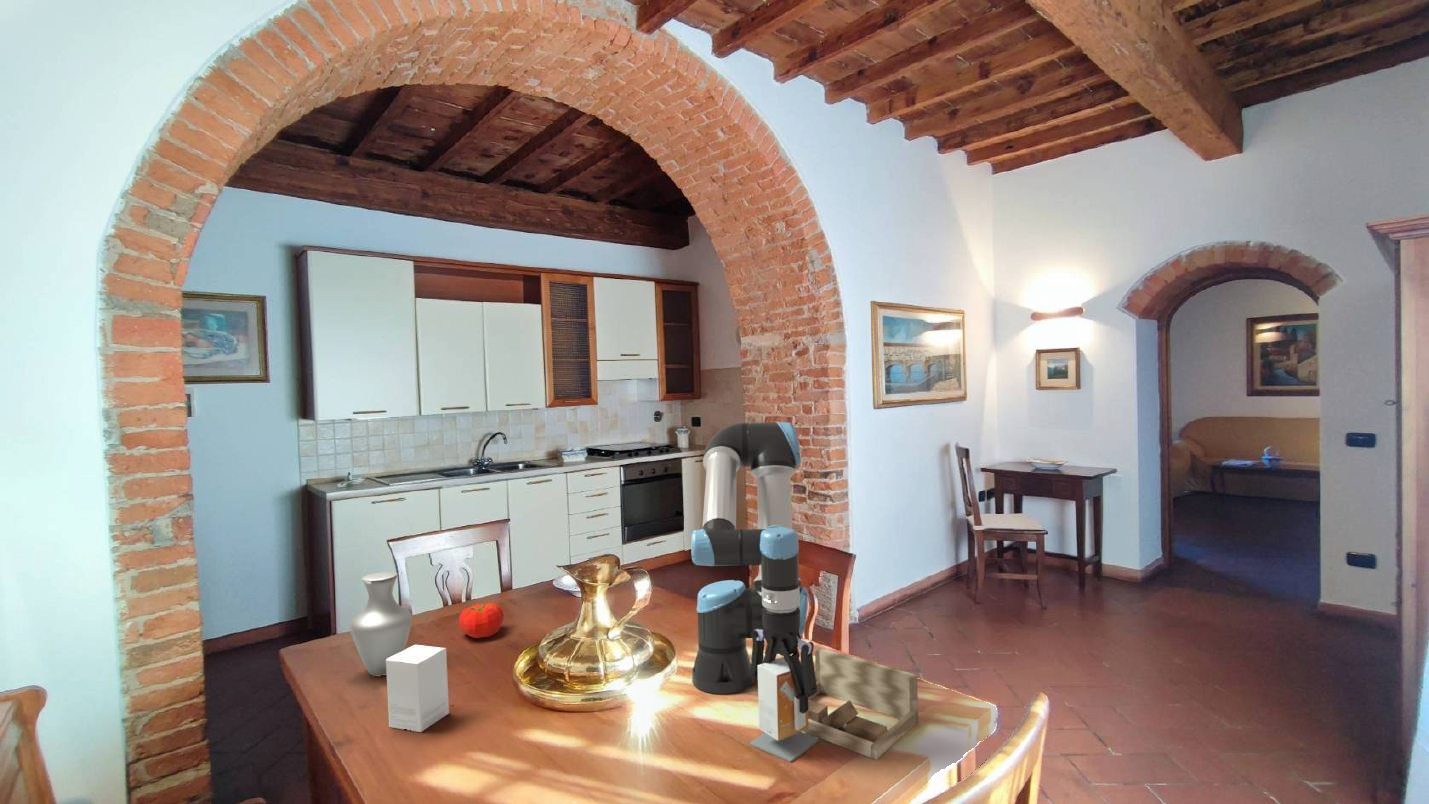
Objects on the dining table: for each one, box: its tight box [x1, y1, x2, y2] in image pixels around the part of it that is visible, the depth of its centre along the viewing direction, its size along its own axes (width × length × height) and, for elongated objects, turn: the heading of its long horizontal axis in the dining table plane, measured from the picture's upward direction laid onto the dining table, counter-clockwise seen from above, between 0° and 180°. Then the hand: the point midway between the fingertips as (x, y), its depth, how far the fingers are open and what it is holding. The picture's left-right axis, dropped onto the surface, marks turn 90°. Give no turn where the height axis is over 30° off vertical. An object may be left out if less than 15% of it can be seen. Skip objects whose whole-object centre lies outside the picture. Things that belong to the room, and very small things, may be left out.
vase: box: [349, 571, 413, 675], centre depth 173 cm, size 14×14×25 cm
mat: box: [748, 731, 820, 763], centre depth 134 cm, size 10×10×1 cm
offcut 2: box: [821, 700, 859, 730], centre depth 137 cm, size 6×4×3 cm
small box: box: [757, 656, 809, 741], centre depth 134 cm, size 8×6×13 cm
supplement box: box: [386, 644, 450, 733], centre depth 147 cm, size 9×9×15 cm
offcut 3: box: [845, 715, 888, 743], centre depth 134 cm, size 7×4×4 cm, turn 49°
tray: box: [802, 646, 919, 761], centre depth 142 cm, size 24×18×10 cm
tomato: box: [458, 602, 504, 639], centre depth 197 cm, size 14×13×9 cm
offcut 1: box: [808, 699, 829, 724], centre depth 143 cm, size 7×4×4 cm, turn 52°
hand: (783, 720), depth 134 cm, fingers closed on small box, 7 cm apart
